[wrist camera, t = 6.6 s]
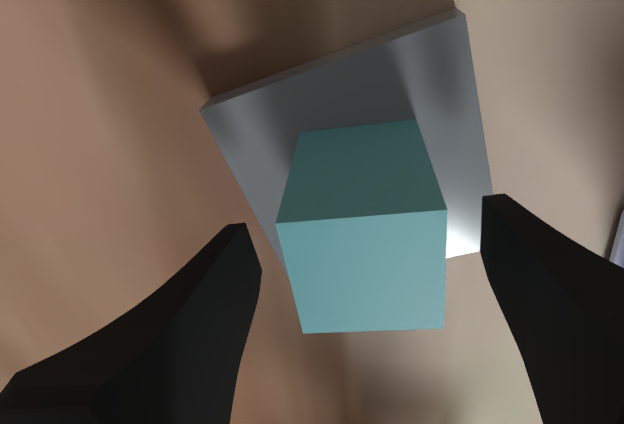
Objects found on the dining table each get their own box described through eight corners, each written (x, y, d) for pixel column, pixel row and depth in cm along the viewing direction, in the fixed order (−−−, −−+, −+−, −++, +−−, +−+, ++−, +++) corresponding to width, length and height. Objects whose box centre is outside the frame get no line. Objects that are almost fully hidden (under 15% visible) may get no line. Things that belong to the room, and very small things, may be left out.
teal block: (416, 119, 14) (447, 209, 9) (418, 216, 16) (443, 328, 11) (299, 132, 14) (274, 223, 10) (316, 224, 16) (303, 333, 12)
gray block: (451, 4, 13) (464, 14, 12) (488, 218, 18) (501, 246, 16) (215, 92, 16) (198, 110, 14) (299, 261, 20) (294, 289, 19)
